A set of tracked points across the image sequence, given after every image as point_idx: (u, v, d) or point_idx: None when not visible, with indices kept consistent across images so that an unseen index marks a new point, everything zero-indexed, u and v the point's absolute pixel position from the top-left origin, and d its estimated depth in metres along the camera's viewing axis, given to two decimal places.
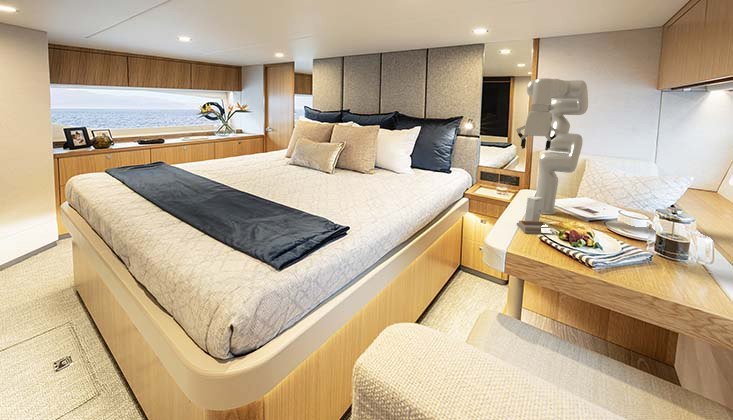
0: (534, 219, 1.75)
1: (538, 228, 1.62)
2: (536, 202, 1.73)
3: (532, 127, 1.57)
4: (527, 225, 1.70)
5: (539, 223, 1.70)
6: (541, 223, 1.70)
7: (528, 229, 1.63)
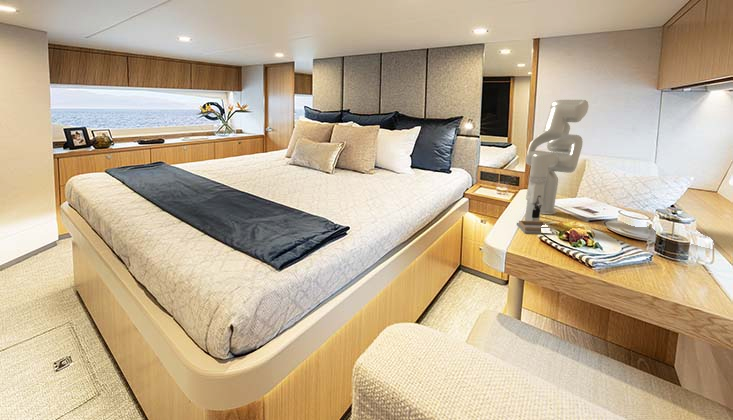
0: (534, 219, 1.76)
1: (538, 228, 1.62)
2: (536, 202, 1.73)
3: None
4: (527, 225, 1.70)
5: (539, 223, 1.70)
6: (541, 223, 1.70)
7: (528, 229, 1.63)
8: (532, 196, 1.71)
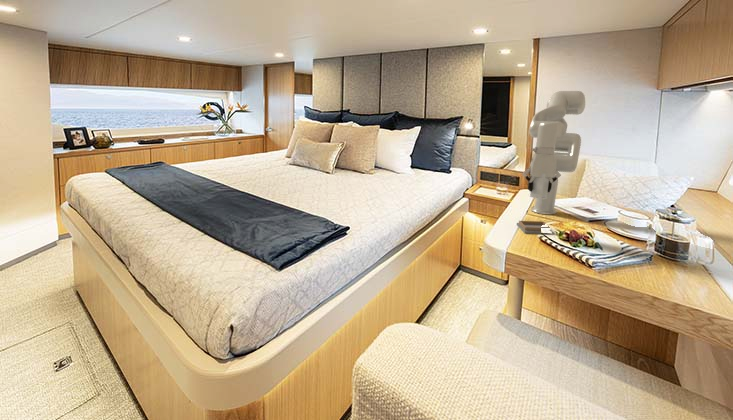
0: None
1: (538, 228, 1.62)
2: None
3: None
4: (527, 225, 1.70)
5: (539, 223, 1.70)
6: (541, 223, 1.70)
7: (528, 229, 1.63)
8: (553, 169, 1.57)
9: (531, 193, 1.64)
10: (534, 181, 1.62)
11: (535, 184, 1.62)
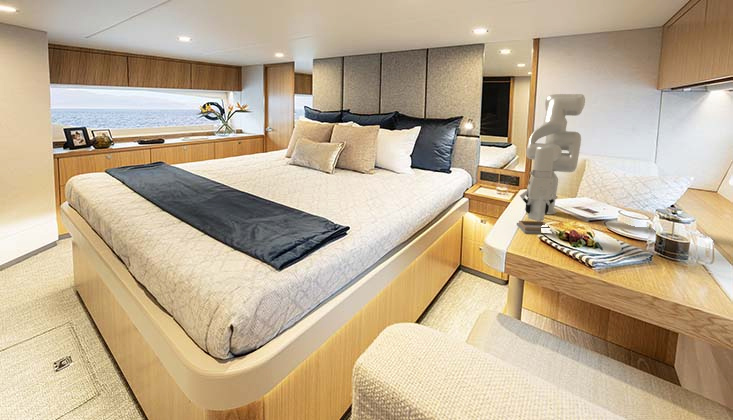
0: None
1: (538, 228, 1.62)
2: None
3: None
4: (527, 225, 1.70)
5: (539, 223, 1.70)
6: (541, 223, 1.70)
7: (528, 229, 1.63)
8: (550, 192, 1.59)
9: (529, 215, 1.66)
10: (531, 203, 1.64)
11: (532, 206, 1.64)
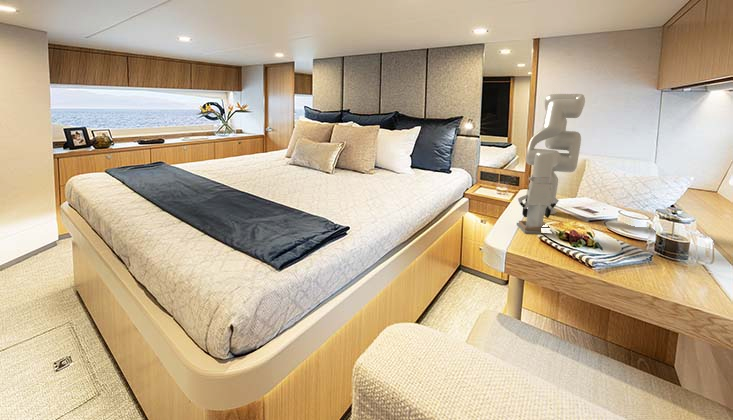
0: None
1: (538, 228, 1.62)
2: None
3: None
4: None
5: None
6: None
7: (528, 229, 1.63)
8: (549, 197, 1.60)
9: (527, 222, 1.68)
10: (530, 211, 1.65)
11: (531, 214, 1.65)
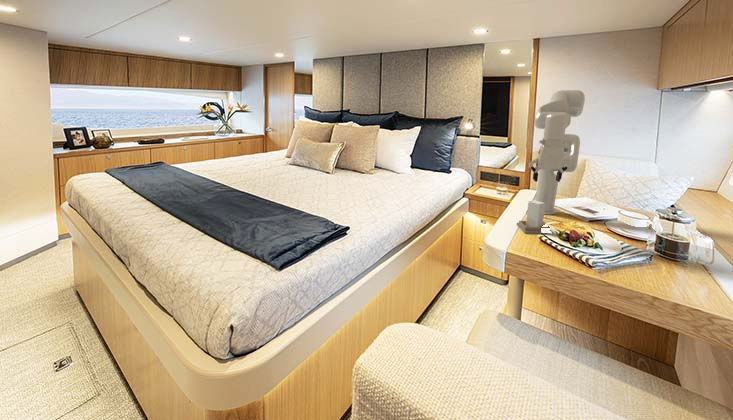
0: None
1: (538, 228, 1.62)
2: None
3: None
4: None
5: None
6: None
7: (528, 229, 1.63)
8: (560, 161, 1.58)
9: (527, 222, 1.68)
10: (530, 211, 1.65)
11: (531, 214, 1.65)
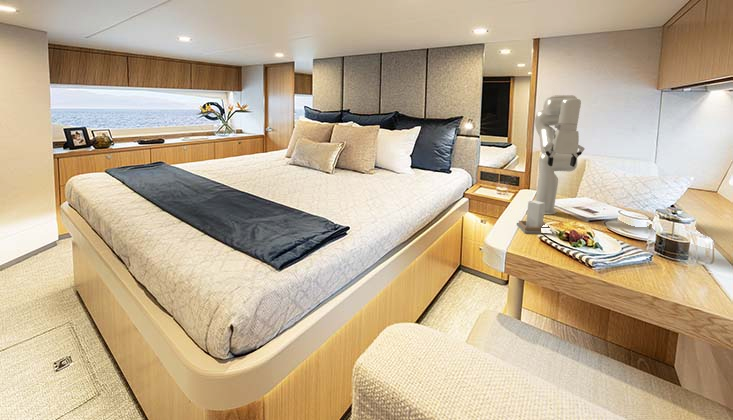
0: None
1: (538, 228, 1.62)
2: None
3: None
4: None
5: None
6: None
7: (528, 229, 1.63)
8: (575, 145, 1.60)
9: (527, 222, 1.68)
10: (530, 211, 1.65)
11: (531, 214, 1.65)
